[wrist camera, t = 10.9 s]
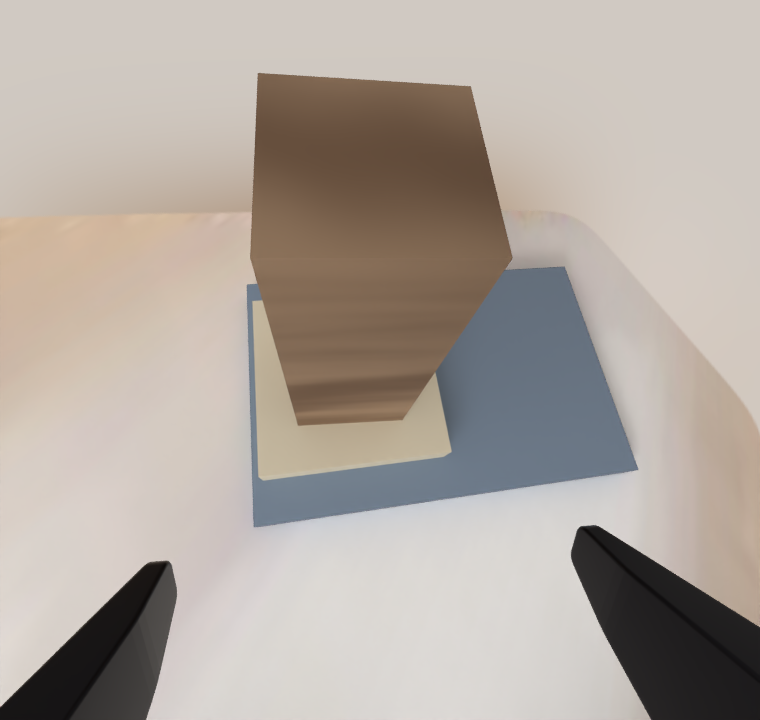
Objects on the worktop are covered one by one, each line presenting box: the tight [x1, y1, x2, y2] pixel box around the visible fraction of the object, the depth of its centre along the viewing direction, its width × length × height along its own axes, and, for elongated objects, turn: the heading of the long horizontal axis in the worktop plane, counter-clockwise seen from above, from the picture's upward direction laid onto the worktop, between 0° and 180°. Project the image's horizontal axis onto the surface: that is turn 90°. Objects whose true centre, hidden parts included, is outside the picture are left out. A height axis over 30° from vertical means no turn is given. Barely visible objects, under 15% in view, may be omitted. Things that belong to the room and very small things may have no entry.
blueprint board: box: [247, 267, 638, 527], centre depth 23 cm, size 20×13×2 cm, turn 98°
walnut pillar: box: [250, 73, 512, 426], centre depth 15 cm, size 5×5×13 cm
